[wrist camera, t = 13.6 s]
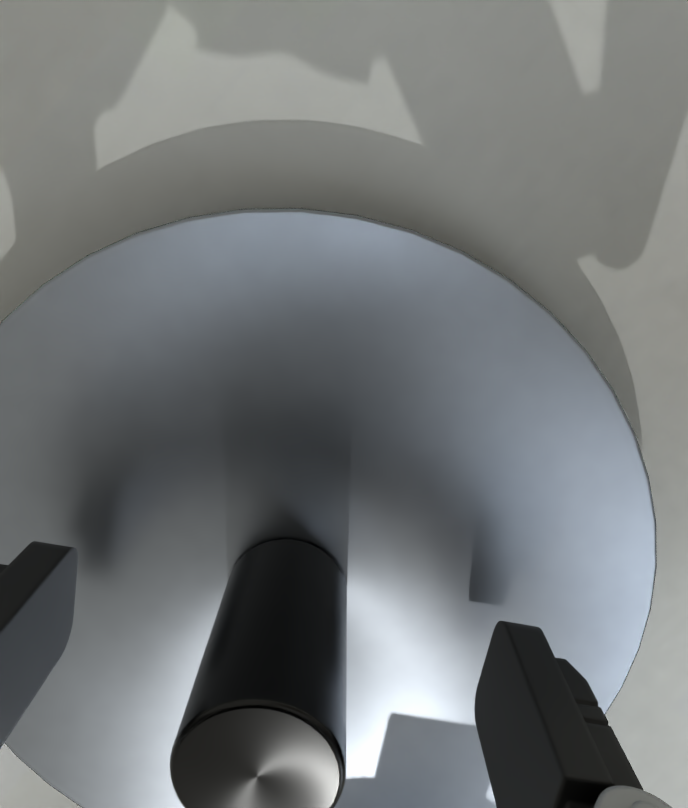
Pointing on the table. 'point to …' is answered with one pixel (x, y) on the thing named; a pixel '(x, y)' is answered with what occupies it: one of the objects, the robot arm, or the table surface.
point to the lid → (307, 511)
